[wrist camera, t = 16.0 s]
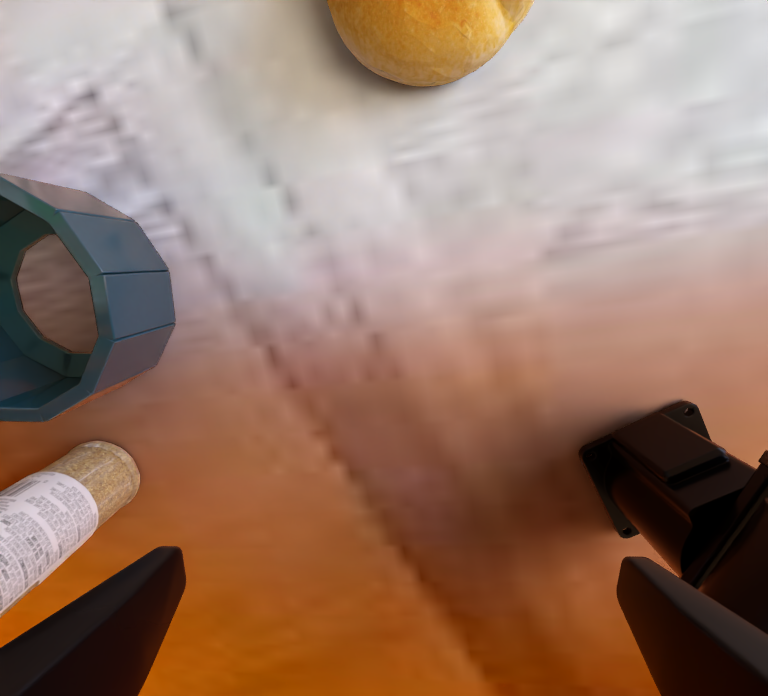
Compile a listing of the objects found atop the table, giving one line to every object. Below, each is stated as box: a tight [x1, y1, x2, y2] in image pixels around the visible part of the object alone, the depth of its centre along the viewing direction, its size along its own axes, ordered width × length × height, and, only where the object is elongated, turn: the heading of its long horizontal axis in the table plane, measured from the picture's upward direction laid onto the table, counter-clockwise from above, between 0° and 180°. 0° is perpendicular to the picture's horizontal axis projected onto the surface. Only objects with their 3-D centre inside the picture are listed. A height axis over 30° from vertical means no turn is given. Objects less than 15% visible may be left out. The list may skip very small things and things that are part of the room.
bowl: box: [0, 173, 175, 422], centre depth 17 cm, size 10×10×4 cm
